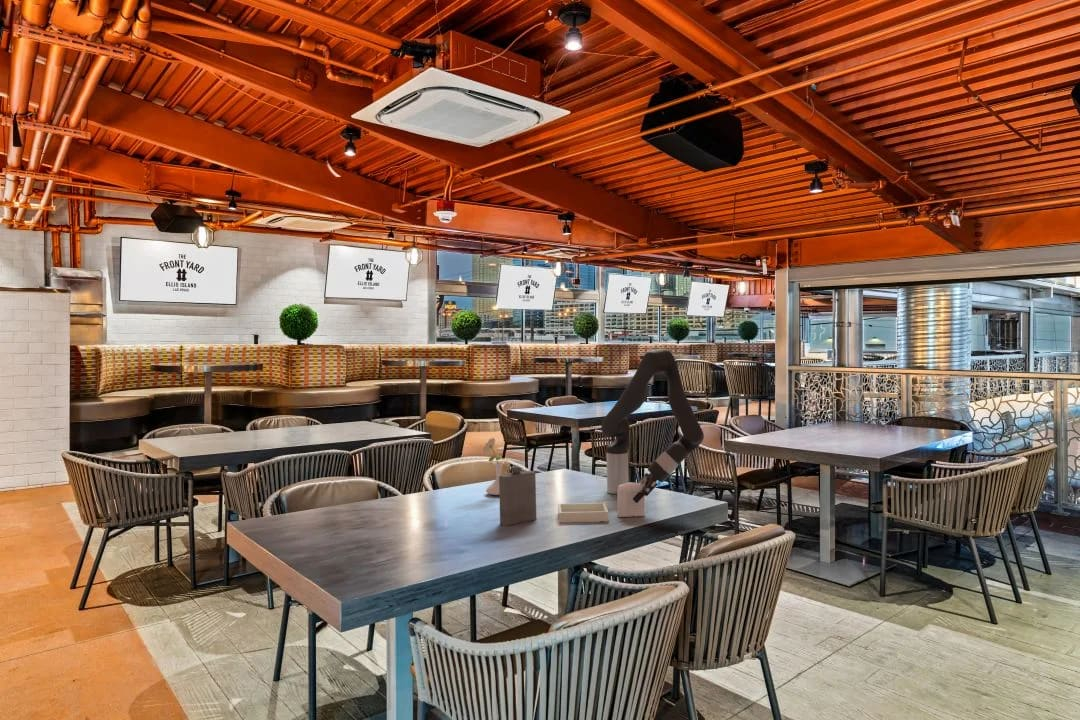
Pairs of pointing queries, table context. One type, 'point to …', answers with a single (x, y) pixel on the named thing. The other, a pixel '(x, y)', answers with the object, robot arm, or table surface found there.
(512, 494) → the flask
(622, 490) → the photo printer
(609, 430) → the robot arm
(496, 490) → the flower in vase
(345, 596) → the table surface
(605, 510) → the trough
